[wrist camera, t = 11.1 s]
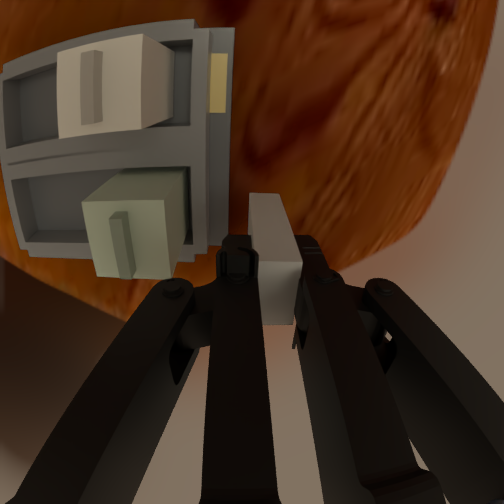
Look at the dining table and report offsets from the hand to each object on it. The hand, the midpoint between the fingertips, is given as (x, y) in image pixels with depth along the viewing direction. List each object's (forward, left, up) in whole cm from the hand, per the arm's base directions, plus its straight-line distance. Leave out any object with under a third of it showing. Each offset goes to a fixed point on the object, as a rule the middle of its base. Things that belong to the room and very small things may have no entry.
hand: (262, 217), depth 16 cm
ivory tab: (-7, -7, -3) cm, 11 cm away
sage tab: (0, -6, -3) cm, 7 cm away
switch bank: (-3, -10, -4) cm, 12 cm away
